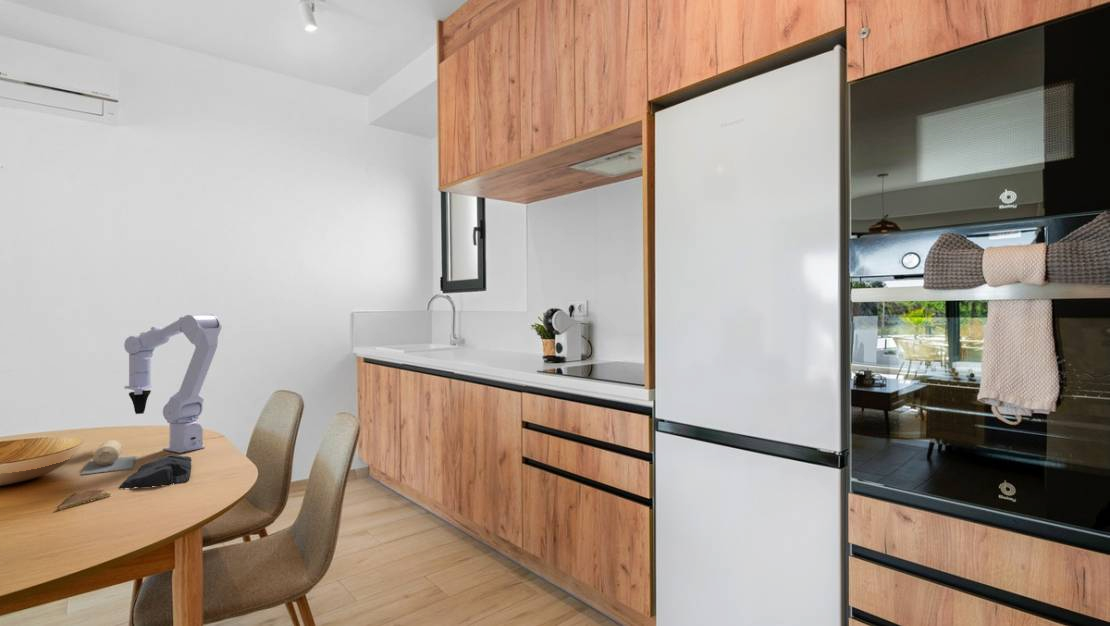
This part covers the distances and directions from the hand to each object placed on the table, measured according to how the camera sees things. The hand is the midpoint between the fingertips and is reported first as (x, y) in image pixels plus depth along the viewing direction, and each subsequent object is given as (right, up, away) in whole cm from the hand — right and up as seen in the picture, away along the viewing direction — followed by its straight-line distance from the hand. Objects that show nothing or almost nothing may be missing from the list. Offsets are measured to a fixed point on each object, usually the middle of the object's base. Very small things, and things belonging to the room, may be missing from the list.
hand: (139, 413), depth 182 cm
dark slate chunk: (+30, -12, -31) cm, 45 cm away
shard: (+26, -12, -51) cm, 58 cm away
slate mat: (+9, -11, -23) cm, 27 cm away
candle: (+4, -8, -17) cm, 19 cm away
